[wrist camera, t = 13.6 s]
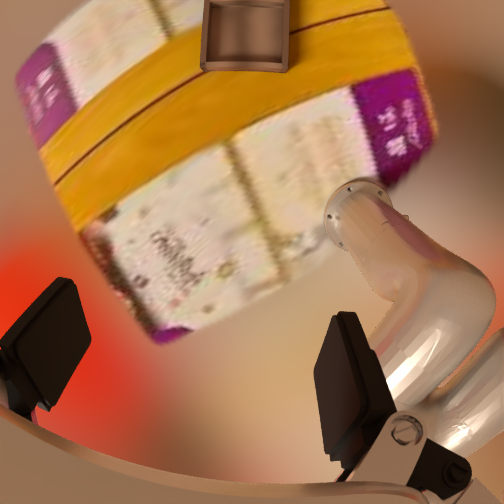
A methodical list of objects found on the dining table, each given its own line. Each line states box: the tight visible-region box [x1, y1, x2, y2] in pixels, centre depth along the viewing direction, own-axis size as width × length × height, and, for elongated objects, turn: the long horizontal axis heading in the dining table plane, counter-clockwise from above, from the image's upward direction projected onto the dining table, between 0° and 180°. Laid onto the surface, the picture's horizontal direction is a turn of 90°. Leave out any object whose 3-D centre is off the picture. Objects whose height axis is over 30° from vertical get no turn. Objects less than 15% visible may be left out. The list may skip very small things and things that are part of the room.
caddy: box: [200, 0, 290, 73], centre depth 29 cm, size 12×23×4 cm, turn 178°
